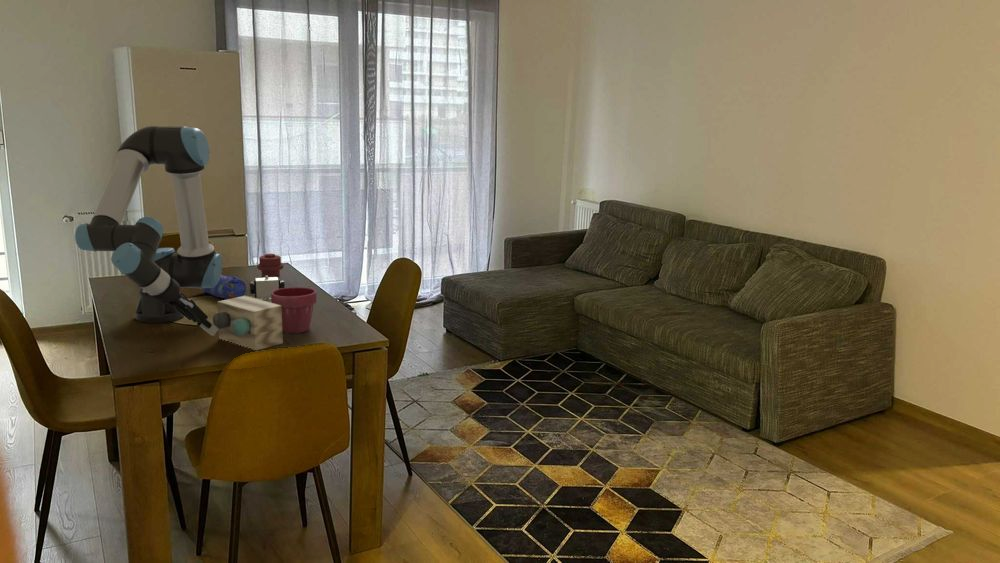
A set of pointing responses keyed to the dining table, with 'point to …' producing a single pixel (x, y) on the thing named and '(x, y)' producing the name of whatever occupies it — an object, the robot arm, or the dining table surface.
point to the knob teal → (241, 326)
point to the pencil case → (227, 288)
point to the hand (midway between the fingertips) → (214, 332)
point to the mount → (253, 322)
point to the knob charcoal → (221, 320)
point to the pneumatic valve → (265, 287)
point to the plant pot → (295, 307)
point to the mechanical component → (270, 265)
